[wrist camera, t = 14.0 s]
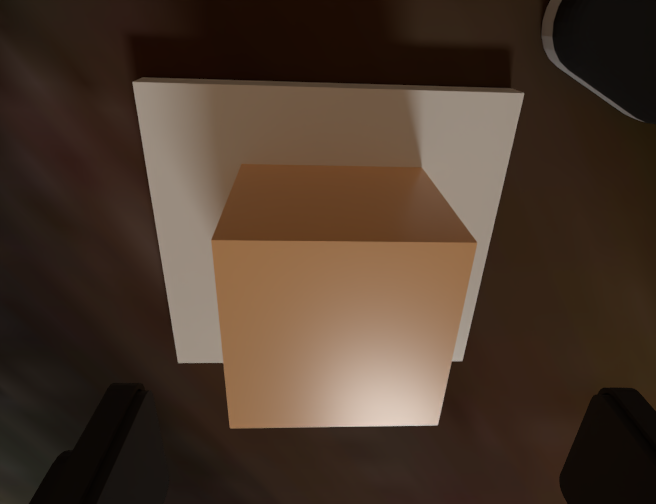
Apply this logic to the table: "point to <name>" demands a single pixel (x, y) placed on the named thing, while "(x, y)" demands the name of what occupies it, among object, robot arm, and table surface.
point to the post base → (307, 149)
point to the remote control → (607, 50)
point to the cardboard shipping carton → (338, 295)
